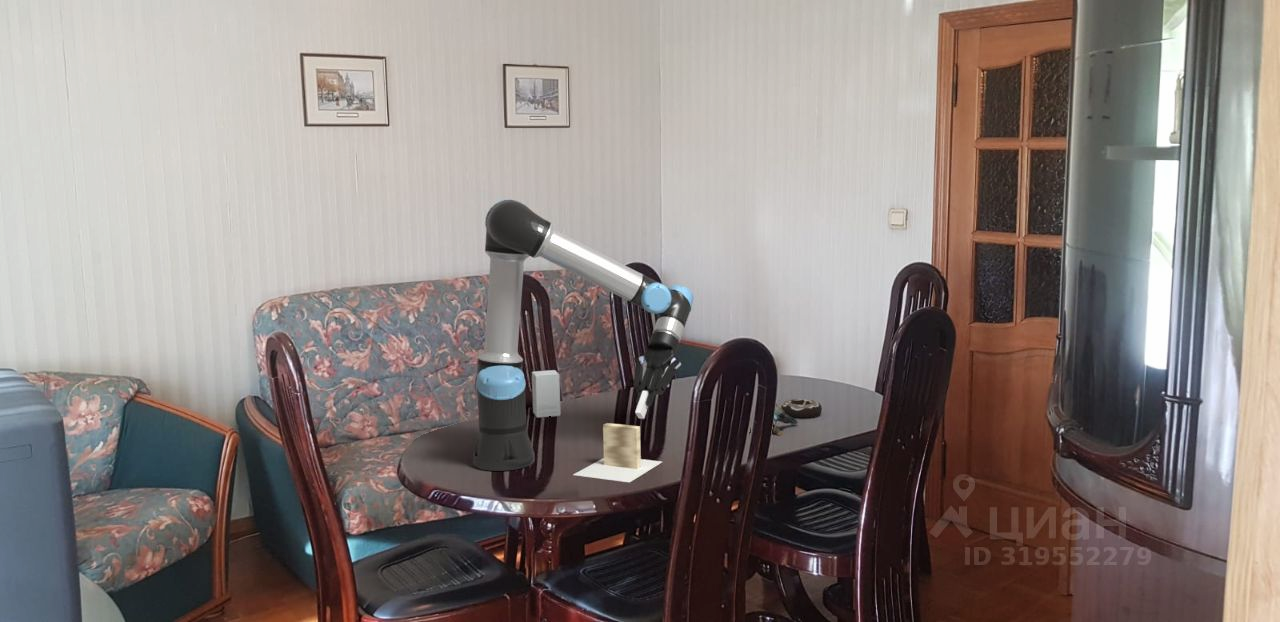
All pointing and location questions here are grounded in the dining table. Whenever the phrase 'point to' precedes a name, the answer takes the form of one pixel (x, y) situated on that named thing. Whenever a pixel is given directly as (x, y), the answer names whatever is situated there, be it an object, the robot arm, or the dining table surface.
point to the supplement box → (546, 393)
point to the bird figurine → (781, 419)
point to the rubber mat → (616, 471)
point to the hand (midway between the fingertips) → (639, 415)
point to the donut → (801, 408)
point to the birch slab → (622, 445)
